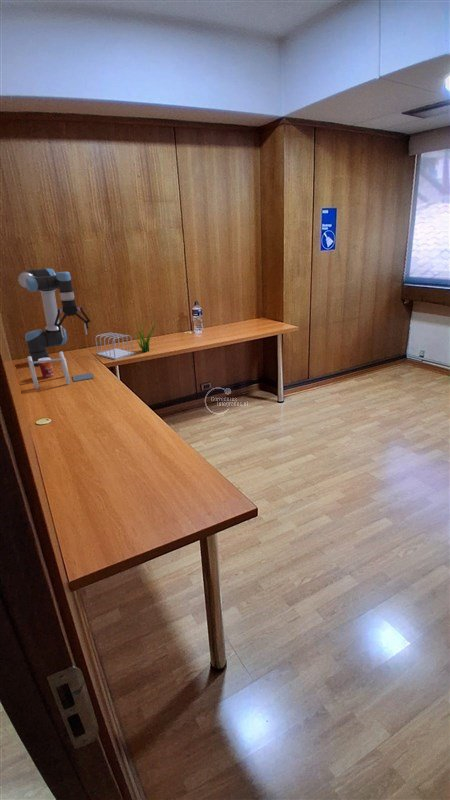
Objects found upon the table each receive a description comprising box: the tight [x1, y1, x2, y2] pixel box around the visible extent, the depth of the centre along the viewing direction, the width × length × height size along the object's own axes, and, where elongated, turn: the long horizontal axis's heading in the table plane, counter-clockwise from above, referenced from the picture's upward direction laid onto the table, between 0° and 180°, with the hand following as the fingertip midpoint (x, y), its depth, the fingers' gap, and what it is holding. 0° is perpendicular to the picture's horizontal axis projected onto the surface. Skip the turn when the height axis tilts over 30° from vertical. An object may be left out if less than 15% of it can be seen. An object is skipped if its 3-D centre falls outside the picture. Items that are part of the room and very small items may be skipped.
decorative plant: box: [133, 309, 157, 353], centre depth 299 cm, size 18×30×15 cm
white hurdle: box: [26, 351, 72, 390], centre depth 239 cm, size 20×21×16 cm
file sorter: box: [95, 331, 136, 361], centre depth 295 cm, size 25×17×16 cm
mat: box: [72, 372, 95, 383], centre depth 248 cm, size 12×12×1 cm
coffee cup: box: [38, 357, 55, 379], centre depth 253 cm, size 8×8×15 cm
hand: (75, 335), depth 239 cm, fingers open, 13 cm apart
